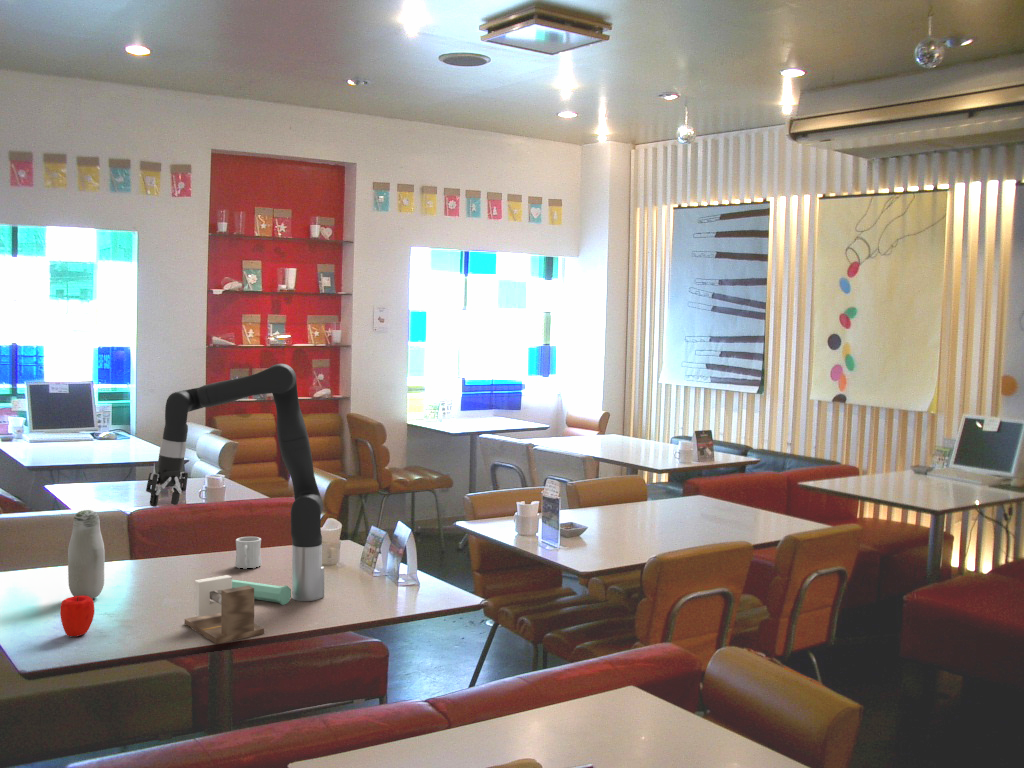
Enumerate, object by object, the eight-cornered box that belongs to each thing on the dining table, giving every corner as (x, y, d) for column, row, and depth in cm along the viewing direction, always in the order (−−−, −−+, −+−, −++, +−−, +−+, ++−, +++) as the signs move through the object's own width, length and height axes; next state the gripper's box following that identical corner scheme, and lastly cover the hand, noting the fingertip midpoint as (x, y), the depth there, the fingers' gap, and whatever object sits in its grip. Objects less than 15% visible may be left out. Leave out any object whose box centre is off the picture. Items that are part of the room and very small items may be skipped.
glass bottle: (61, 601, 299) (60, 511, 297) (87, 593, 309) (86, 506, 307) (86, 605, 295) (85, 514, 294) (111, 596, 305) (110, 509, 303)
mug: (237, 563, 350) (237, 536, 349) (263, 563, 351) (263, 536, 350) (231, 572, 338) (231, 544, 337) (258, 571, 339) (258, 543, 338)
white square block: (227, 608, 284) (227, 575, 284) (232, 610, 282) (232, 577, 281) (194, 614, 278) (194, 580, 277) (198, 617, 275) (198, 582, 275)
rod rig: (230, 615, 288) (230, 570, 287) (264, 633, 271) (264, 586, 270) (184, 624, 278) (184, 577, 278) (216, 643, 262) (216, 594, 261)
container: (215, 594, 308) (277, 603, 297) (219, 575, 309) (281, 584, 298) (227, 596, 313) (289, 606, 302) (231, 578, 314) (293, 587, 303)
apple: (88, 640, 263) (87, 601, 262) (55, 640, 262) (54, 601, 262) (99, 630, 272) (99, 592, 271) (67, 630, 271) (67, 592, 270)
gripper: (163, 457, 293) (155, 509, 293) (197, 456, 306) (189, 506, 306) (145, 452, 296) (137, 504, 297) (180, 451, 309) (172, 501, 309)
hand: (163, 505), depth 301 cm, fingers open, 8 cm apart
